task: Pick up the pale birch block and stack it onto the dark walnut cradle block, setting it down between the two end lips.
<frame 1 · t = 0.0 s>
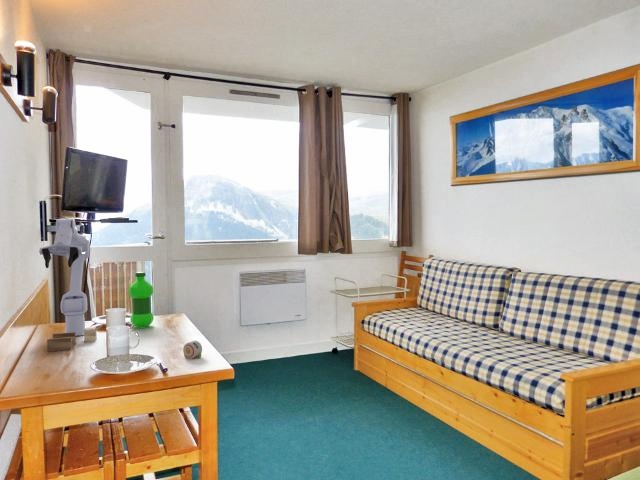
hand: (58, 265, 185), 32 cm above the table, tool tilted 50°, fingers open, 7 cm apart
roller toy: (192, 358, 174), on the table
plastic bottle: (142, 327, 225), on the table
walnut cradle: (62, 347, 191), on the table
birch block: (90, 340, 202), on the table
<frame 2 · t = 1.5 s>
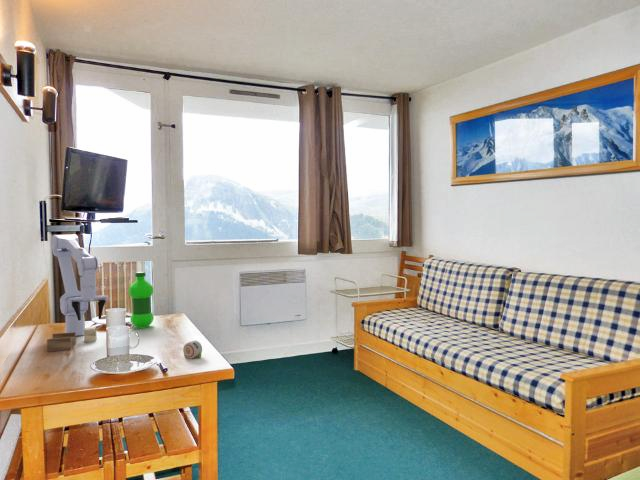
hand: (89, 319, 201), 9 cm above the table, tool pointing down, fingers open, 7 cm apart
nothing on the table moved.
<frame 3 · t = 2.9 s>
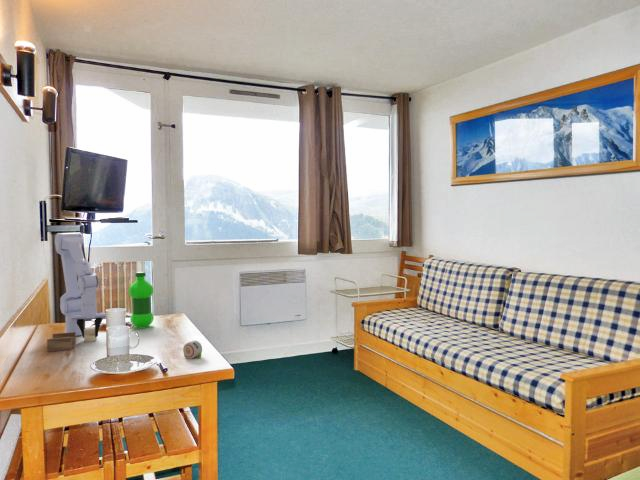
hand: (90, 336, 202), 1 cm above the table, tool pointing down, fingers closed on birch block, 4 cm apart
birch block: (90, 340, 202), on the table, touching gripper
everything else where it was.
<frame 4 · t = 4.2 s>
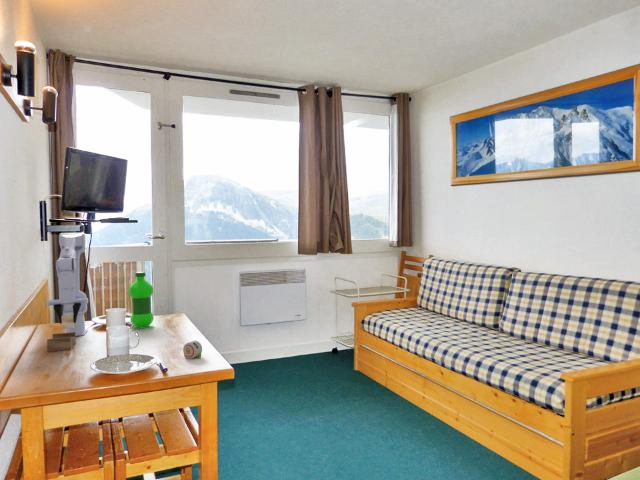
hand: (68, 322, 193), 9 cm above the table, tool pointing down, fingers closed on birch block, 4 cm apart
birch block: (68, 327, 193), point 7 cm above the table, touching gripper
everything else where it was.
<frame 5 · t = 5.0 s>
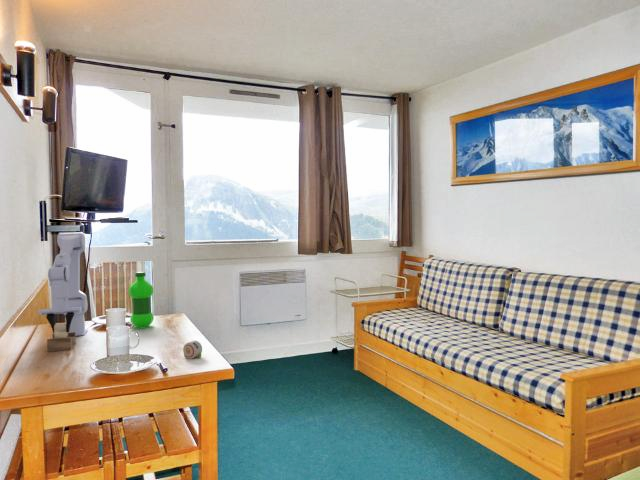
hand: (61, 332, 191), 6 cm above the table, tool pointing down, fingers closed on birch block, 4 cm apart
birch block: (61, 336, 191), point 4 cm above the table, touching gripper
everything else where it was.
when the fingers open (5 cm above the table, at t = 5.5 s): birch block stays where it is, resting on walnut cradle.
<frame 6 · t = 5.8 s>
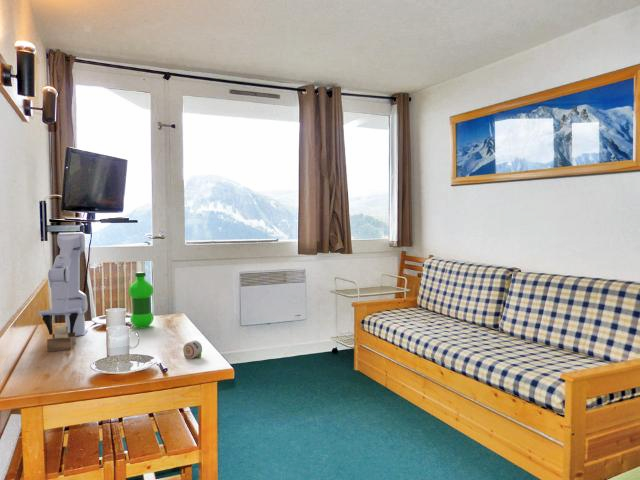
hand: (61, 333, 191), 5 cm above the table, tool pointing down, fingers open, 7 cm apart
birch block: (61, 339, 191), point 3 cm above the table, touching walnut cradle
everything else where it was.
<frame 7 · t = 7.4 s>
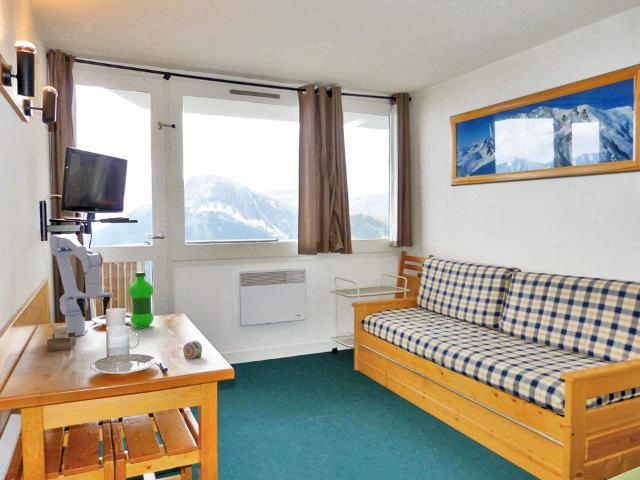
hand: (94, 316, 202), 10 cm above the table, tool pointing down, fingers open, 7 cm apart
nothing on the table moved.
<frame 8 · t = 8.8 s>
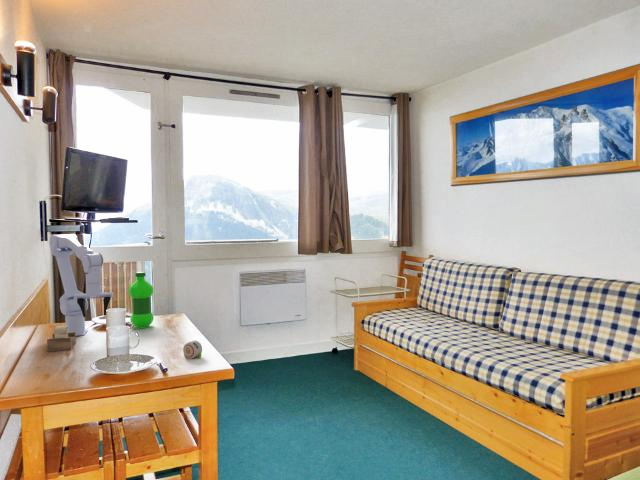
hand: (94, 315, 202), 10 cm above the table, tool pointing down, fingers open, 7 cm apart
nothing on the table moved.
at the end: birch block 0.2 cm off-centre on the walnut cradle, point 3.0 cm above the walnut cradle's base; birch block touching walnut cradle; the gripper is holding nothing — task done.
